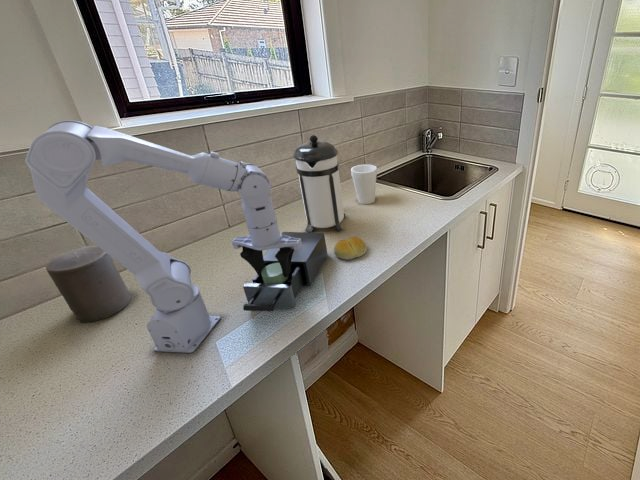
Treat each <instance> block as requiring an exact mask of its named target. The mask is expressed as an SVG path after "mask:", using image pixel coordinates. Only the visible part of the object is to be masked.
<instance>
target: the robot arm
mask: <svg viewBox="0 0 640 480" xmlns="http://www.w3.org/2000/svg"><path fill="white" fill-rule="evenodd" d="M98 160H100V166H101V167H102V168H105V167H111V166H112V165H117V164H120V163H124V162H133V163H137V164H141V165H146V166H151V167H156V168H160V169H165V170H169V171H172V172H173V171H174V172H178V173H182V174H186V175H187V176H188V178H189V179H190V180H191V181H192V183H194V184H199V185H202V186H206V187H211V188H214V189H218V190H223V191H227V192H231V193H233V192H234V193H235V192H237V193H238V194H239V196H240V200H241V208H242V212H243V215H244V216H243V217H244V221H245V222H246V226H247V227H246V228H247V231H248V234H249V235H244V236H236V237H235V238H233V240H231V245H232V247H233V249H234V250H238V249H240V248H242V251H241V252H240V253H239V255H240V258H242V259H243V260H244V261H246V262H247V263H248V265H250V266H251V267H252V268H253V270H254V271H255V272H256V275H257V274H258V275H259V276H262V275H261V271H262V269H263V268H264V267H265V263H264V259H263V255H264V253H263V251H267V250H270V249H276V248H280V250H279V251H278V252H277V254H276V255H275V257H276V258H277V260H278V261H279V263H280V265H281V269H282V273H283V276H284V277H288V275H289V274H290V272H291V260H292V256H293V252H294V250H299V249H300V248H301V247H302V242H301V238H293V237H289V236H285V235H282V233H280V228H279V224H278V220H277V216H276V211H275V206H274V203H273V199H272V198H271V191H272V187H273V185H272V182H271V181H270V179H269V178H268V177H267V175H266V174H265V173H264V171H263V170H262V169H261V168H259V166H256V165H255V164H253V163H251V162H250V163H249V162H248V163H247V162H245V161H240V162H237V161H233V160H229V159H227V158H223V157H220V154H219V153H218V152H215V151H210V152H209V153H207V152H205V151H202V152H199V153H196V154H192V155H190V154H187V153H185V152H182V151H178V150H175V149H172V148H169V147H165V146H163V145H159V144H157V143H153V142H151V141H148V140H145V139H141V138H138V137H136V136H133V135H129V134H127V133H124V132H120V131H117V130H114V129H111V128H108V127H104V126H99V125H94V126H92V125H90V124H88V123H86V122H82V121H79V120H73V119H70V120H69V119H65V120H60V121H56V122H55V123H53V124H52V125H50V126H49V127H48V129H47V130H46V131H45V132H42V133H40V134H39V135H37V136H36V137H35V138H34V139H33V140H32V141H31V143H30V146H29V149H28V151H27V154H26V157H25V160H24V162H25V164H26V165H27V166H28V168H29V170H30V174H31V178H32V183H33V187H34V190H35V194H36V197H37V199H38V200H39V201H40V202H41V203H42V204H43V205H44V206H45V207H47V208H49V209H50V210H51V211H52V212H54V213H55V214H56V215H57V216H59V217H60V218H62V220H64V221H65V222H67V223H68V224H69V225H70V226H71V227H72V228H74V229H75V230H76V231H78V232H79V233H80V234H82V235H83V236H84V237H85V238H87V239H88V240H90V241H91V242H92V243H93V244H95V246H98V247H100V248H101V249H102V250H104V251H105V252H106V253H107V254H109V255H110V256H111V258H112V259H114V260H115V261H116V262H118V263H119V264H120V265H121V266H122V267H124V268H125V269H127V270H128V272H130V273H131V274H133V275H134V277H135V278H136V280H137V282H138V284H139V286H140V287H141V289H142V291H143V292H144V293H145V294H147V295H148V297H149V299H150V302H151V304H152V306H153V307H154V308H155V311H154V313H153V315H152V317H151V318H150V320H149V322H148V323H147V325H146V328H147V331H148V333H149V335H150V337H151V340H152V341H153V343H154V345H155V347H154V348H153V351H154V352H163V353H187V354H192V353H194V352H195V351H196V350H197V348H198V347H199V346H200V345H201V343H202V342H203V341H204V340H205V338H206V337H207V336H208V335H209V334H210V332H211V331H212V330H213V329H214V327H216V325H217V324H218V323H219V321H220V320H221V318H222V317H221V315H209V312H208V309H207V307H206V305H205V302H204V299H203V296H202V294H201V291H200V289H199V287H198V286H197V285H196V284H193V283H192V276H191V274H192V273H191V272H192V271H191V270H192V269H191V267H190V265H189V264H188V263H187V262H186V261H185V260H182V259H178V258H175V257H173V256H172V255H170V254H169V252H165V251H160V250H159V249H158V248H156V247H155V246H154V245H153V244H152V243H151V242H150V241H149V240H148V239H146V238H145V237H144V236H142V234H140V233H139V232H138V231H137V230H136V229H135V228H134V227H133V226H131V225H130V224H129V222H127V221H125V219H123V218H122V217H121V216H120V215H119V214H118V213H116V211H114V210H113V209H112V207H110V206H109V205H108V204H106V203H105V202H104V201H103V200H102V199H101V198H99V196H97V194H95V193H94V192H92V190H90V189H89V188H88V181H89V176H90V172H91V170H92V167H93V166H94V164H95V162H96V161H98Z"/></svg>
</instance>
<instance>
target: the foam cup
mask: <svg viewBox="0 0 640 480" xmlns="http://www.w3.org/2000/svg"><path fill="white" fill-rule="evenodd" d="M377 175H378V169H377V166H375V165H374V164H367V163H366V164H365V163H364V164H357V165H354V166H351V168H350V176H351V178H352V181H353V182H352V183H353V185H354V190H355V195H356V198H357V203H359V204H362V205H370V204H373V203H374V202H375V201H376V189H377V187H376V185H377Z"/></svg>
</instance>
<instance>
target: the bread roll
mask: <svg viewBox="0 0 640 480" xmlns="http://www.w3.org/2000/svg"><path fill="white" fill-rule="evenodd" d="M365 242H366V241H364V239H363V238H361V237H357V236H352V237H350V238H349V239H341V240H339V241H338V242H336V243H335V245H334V248H333V253H334V255H335V256H336V257H337V258H339V259H342V260H353V259H355V258H360V257H362V256H363V255H365V254H366V253H367V251H368V249H367V247H366V243H365Z"/></svg>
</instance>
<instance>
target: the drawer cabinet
mask: <svg viewBox="0 0 640 480" xmlns="http://www.w3.org/2000/svg"><path fill="white" fill-rule="evenodd" d="M281 234H282V235H285V236H289V237H293V238H301V242H302V247H301V248H300V249H299V250H294V252H293V256H292V260H291V264H303V266H304V271H305V276H306V282H305V283H304V285H303V287H302V288H304V287H305V288H311V287H312V285H313V283H314V281H316V278H317V277H318V274H319V272H320V271H321V269H322V267H323V265H324V263H325V262H326V260H327V258H328V257H329V255H328V249H327V242H326V236H325V232H311V233H309V232H306V231H305V232H304V231H302V232H301V231H282V232H281ZM279 250H280V248H276V249H270V250H265V252H264V253H263V259H264V263H265V264H266V263H279V261H278V260H277V258H276V257H275V255H276V254H277V252H278V251H279Z"/></svg>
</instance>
